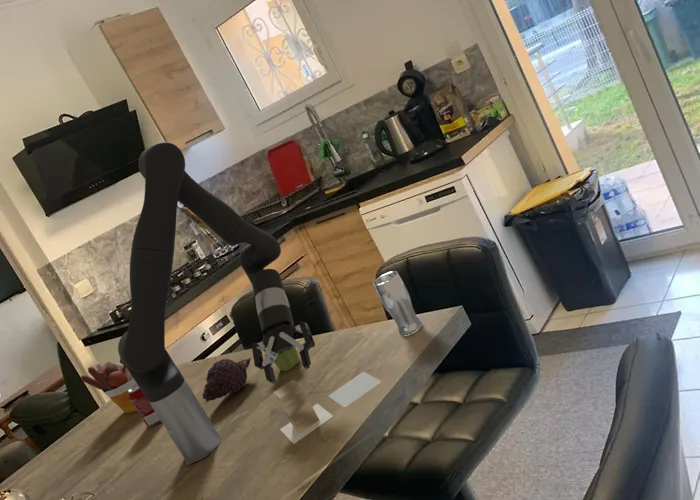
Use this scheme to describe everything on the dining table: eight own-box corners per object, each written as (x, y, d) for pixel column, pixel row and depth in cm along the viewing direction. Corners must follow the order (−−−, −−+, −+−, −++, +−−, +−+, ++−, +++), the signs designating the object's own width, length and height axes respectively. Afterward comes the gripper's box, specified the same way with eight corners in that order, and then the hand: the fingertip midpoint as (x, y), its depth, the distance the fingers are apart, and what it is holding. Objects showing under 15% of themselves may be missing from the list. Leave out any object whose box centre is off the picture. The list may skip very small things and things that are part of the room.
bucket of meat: (144, 389, 223) (113, 340, 218) (177, 381, 214) (145, 330, 210) (103, 427, 207) (68, 375, 202) (136, 420, 198) (101, 365, 193)
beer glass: (423, 318, 166) (398, 267, 163) (425, 330, 160) (398, 276, 156) (398, 329, 168) (372, 279, 164) (398, 341, 161) (371, 288, 157)
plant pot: (304, 365, 175) (289, 338, 173) (273, 380, 176) (257, 353, 174) (306, 351, 184) (292, 324, 182) (276, 365, 185) (261, 339, 183)
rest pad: (345, 409, 141) (344, 407, 141) (328, 397, 151) (328, 395, 151) (382, 383, 144) (382, 381, 144) (364, 372, 154) (363, 371, 154)
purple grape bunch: (222, 413, 172) (203, 382, 169) (201, 413, 178) (182, 383, 176) (266, 372, 184) (249, 342, 181) (245, 374, 191) (228, 345, 188)
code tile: (294, 445, 137) (293, 443, 137) (280, 430, 147) (279, 429, 147) (334, 417, 140) (333, 415, 140) (318, 404, 150) (317, 403, 150)
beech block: (299, 433, 140) (279, 398, 138) (292, 426, 145) (273, 392, 143) (319, 419, 142) (299, 384, 140) (311, 412, 147) (292, 379, 144)
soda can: (163, 423, 185) (140, 388, 182) (143, 431, 187) (121, 396, 184) (172, 410, 192) (151, 376, 189) (154, 417, 193) (132, 384, 191)
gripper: (239, 318, 153) (253, 383, 144) (293, 293, 150) (311, 358, 142) (255, 328, 159) (269, 391, 151) (307, 304, 156) (325, 367, 148)
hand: (289, 375), depth 146 cm, fingers open, 8 cm apart
